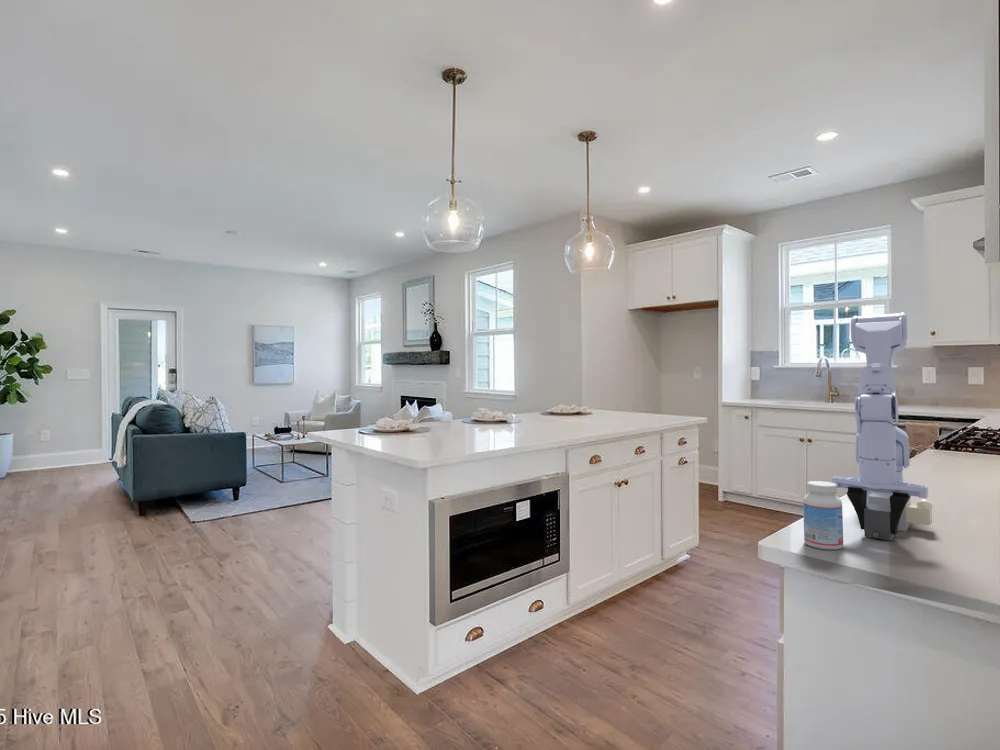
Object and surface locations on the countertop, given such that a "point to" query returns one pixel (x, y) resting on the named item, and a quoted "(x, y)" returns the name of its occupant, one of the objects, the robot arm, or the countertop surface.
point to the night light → (920, 512)
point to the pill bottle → (823, 516)
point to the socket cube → (884, 499)
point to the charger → (877, 521)
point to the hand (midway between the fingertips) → (878, 530)
